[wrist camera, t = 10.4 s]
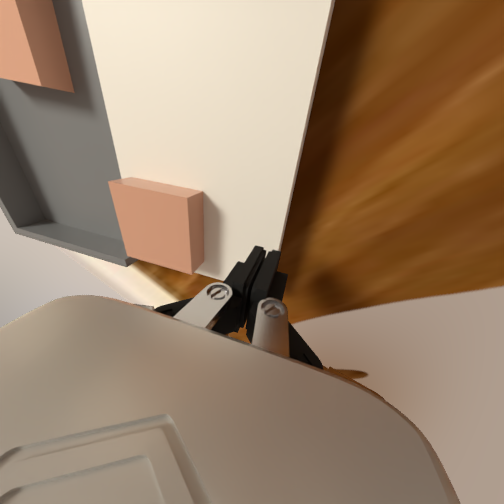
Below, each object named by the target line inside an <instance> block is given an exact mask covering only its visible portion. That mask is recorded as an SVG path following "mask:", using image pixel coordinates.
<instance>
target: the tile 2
mask: <svg viewBox="0 0 504 504" xmlns="http://www.w3.org/2000/svg"><path fill="white" fill-rule="evenodd" d="M108 184H109V188H110V191H111V195H112V199H113V203H114V207H115V211H116V215H117V218H118V222H119V226H120V230H121V234H122V238H123V241H124V245H125V249H126V253H127V256H129V257H133V258H136V259H139V260H143V261H146V262H150V263H153V264H157V265H160V266H164V267H167V268H170V269H174V270H177V271H181V272H184V273H188V274H191V275H192V274H193V273H194V272H195V271H196V270H197V269H198V268H199V267H200V266H201V264H202V263H203V262H204V214H203V191H200V190H195V189H190V188H185V187H180V186H175V185H170V184H165V183H160V182H155V181H150V180H145V179H140V178H135V177H128V178H123V179H117V180H112V181H108Z"/></svg>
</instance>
